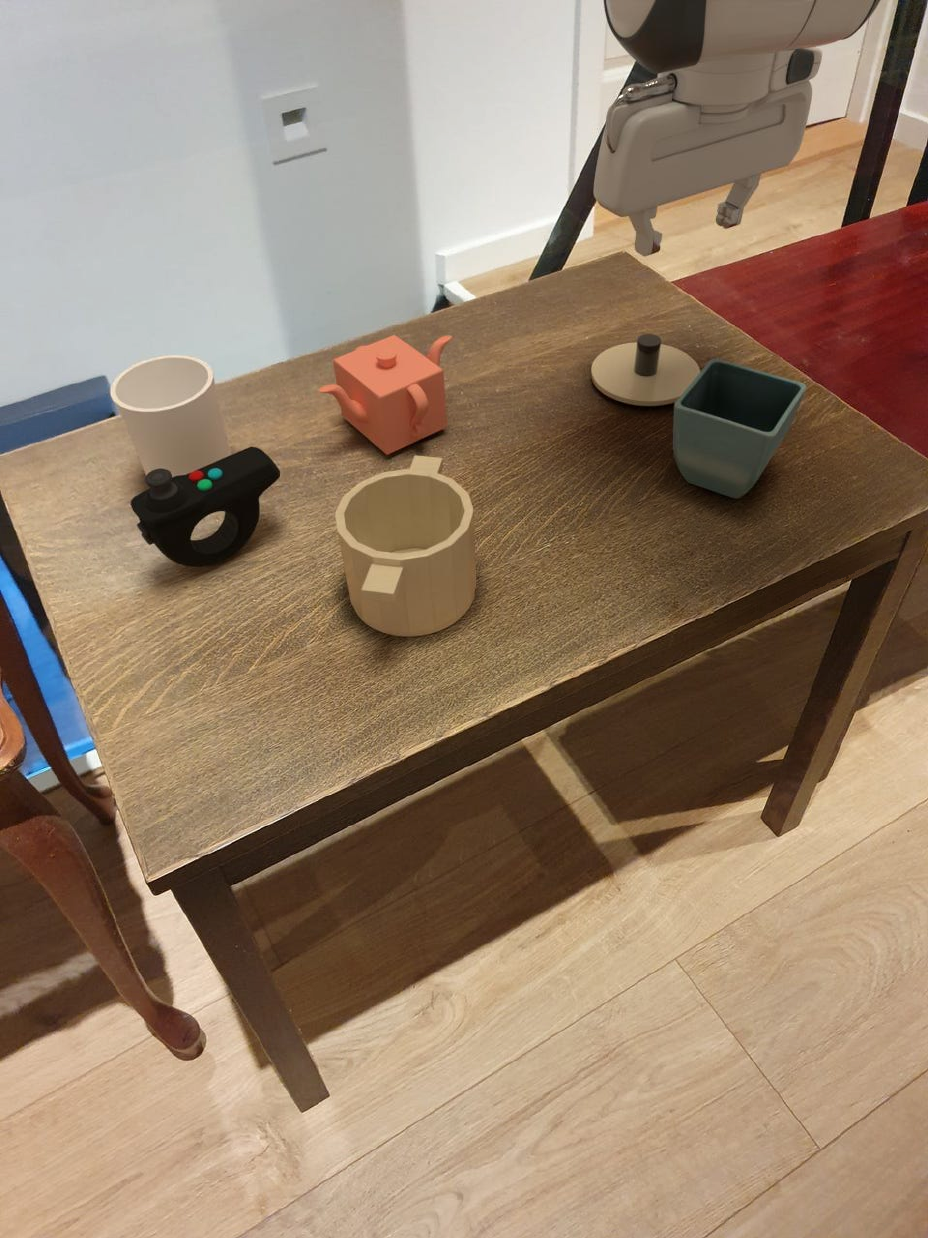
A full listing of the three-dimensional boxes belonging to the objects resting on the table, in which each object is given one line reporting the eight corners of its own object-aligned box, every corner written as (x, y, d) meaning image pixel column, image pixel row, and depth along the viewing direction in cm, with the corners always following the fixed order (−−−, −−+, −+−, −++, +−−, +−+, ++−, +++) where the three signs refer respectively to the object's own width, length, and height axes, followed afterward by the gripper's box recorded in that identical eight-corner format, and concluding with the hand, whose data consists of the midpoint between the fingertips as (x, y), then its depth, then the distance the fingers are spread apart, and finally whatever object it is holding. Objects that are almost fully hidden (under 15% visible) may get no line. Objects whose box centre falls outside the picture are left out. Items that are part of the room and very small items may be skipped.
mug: (255, 479, 85) (230, 385, 77) (169, 518, 81) (134, 424, 74) (204, 427, 91) (177, 335, 83) (122, 462, 87) (85, 369, 80)
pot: (491, 533, 78) (490, 455, 72) (454, 671, 68) (448, 593, 62) (378, 520, 80) (367, 443, 74) (324, 653, 70) (305, 576, 63)
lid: (700, 355, 96) (707, 315, 93) (696, 415, 89) (704, 374, 85) (596, 348, 98) (599, 308, 95) (584, 406, 91) (587, 365, 87)
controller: (151, 568, 77) (113, 477, 70) (275, 507, 82) (252, 416, 74) (173, 596, 75) (136, 504, 67) (299, 531, 79) (278, 439, 72)
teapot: (300, 427, 90) (285, 353, 84) (422, 375, 96) (416, 302, 90) (362, 485, 83) (351, 410, 77) (489, 425, 89) (488, 350, 83)
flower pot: (785, 466, 83) (809, 382, 76) (751, 520, 78) (774, 436, 72) (696, 438, 86) (712, 355, 80) (658, 488, 82) (672, 405, 75)
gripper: (637, 102, 64) (617, 284, 75) (838, 49, 71) (795, 222, 81) (584, 78, 68) (572, 255, 78) (780, 30, 75) (746, 198, 85)
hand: (687, 238), depth 80 cm, fingers open, 8 cm apart
